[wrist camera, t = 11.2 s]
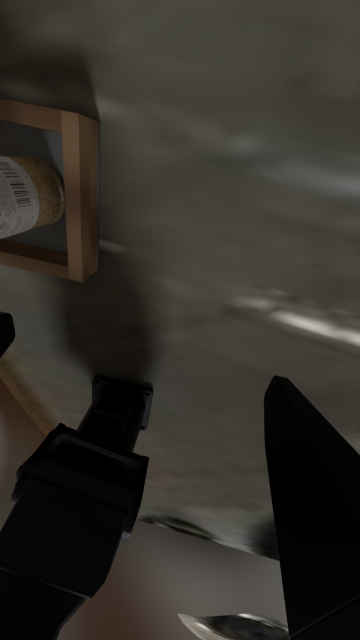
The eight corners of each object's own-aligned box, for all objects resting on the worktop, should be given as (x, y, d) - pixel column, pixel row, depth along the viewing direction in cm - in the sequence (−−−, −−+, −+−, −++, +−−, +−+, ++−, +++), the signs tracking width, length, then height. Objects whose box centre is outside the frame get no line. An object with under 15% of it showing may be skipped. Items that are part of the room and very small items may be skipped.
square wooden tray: (98, 269, 22) (81, 282, 19) (-16, 244, 22) (-46, 253, 20) (100, 122, 17) (78, 113, 14) (-48, 93, 17) (-94, 79, 15)
